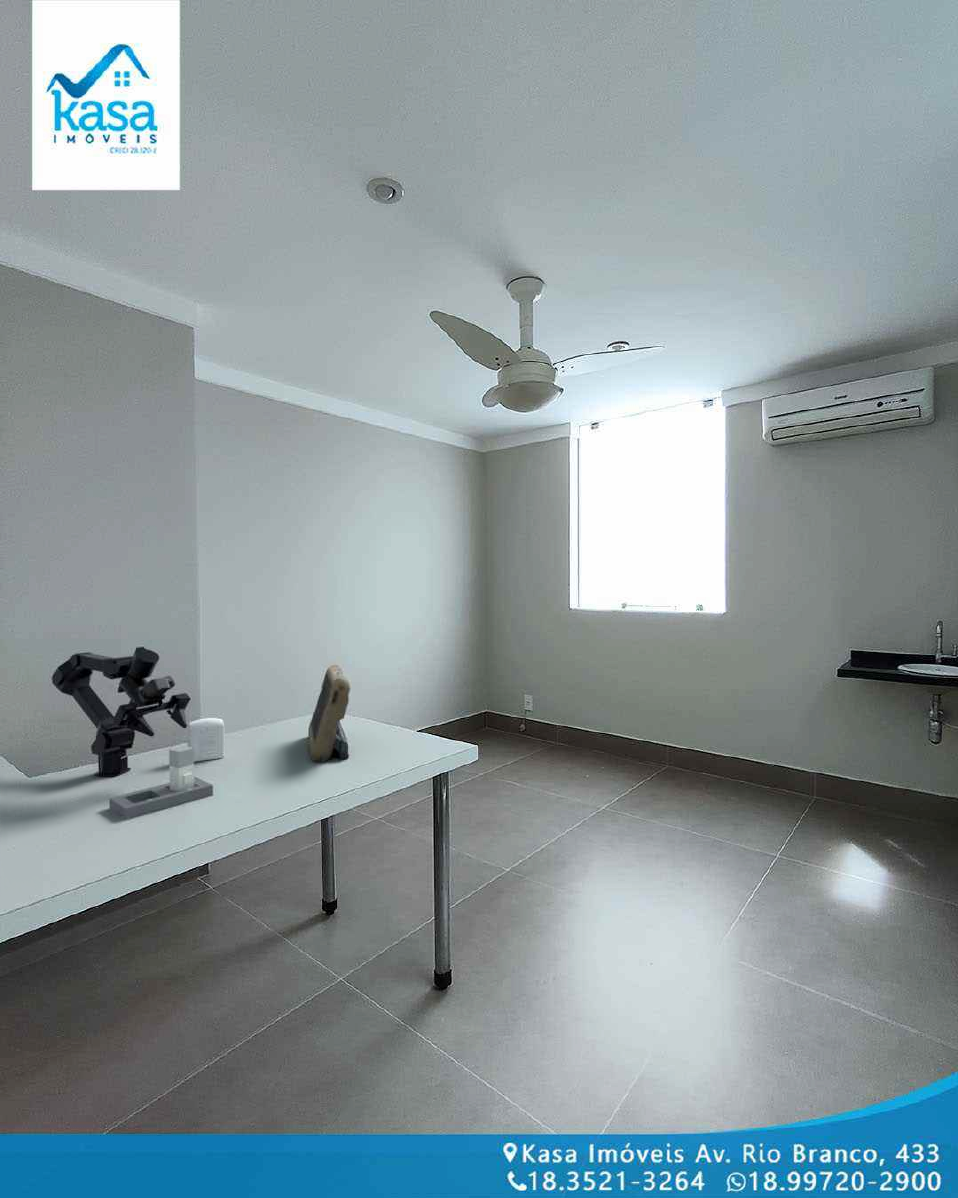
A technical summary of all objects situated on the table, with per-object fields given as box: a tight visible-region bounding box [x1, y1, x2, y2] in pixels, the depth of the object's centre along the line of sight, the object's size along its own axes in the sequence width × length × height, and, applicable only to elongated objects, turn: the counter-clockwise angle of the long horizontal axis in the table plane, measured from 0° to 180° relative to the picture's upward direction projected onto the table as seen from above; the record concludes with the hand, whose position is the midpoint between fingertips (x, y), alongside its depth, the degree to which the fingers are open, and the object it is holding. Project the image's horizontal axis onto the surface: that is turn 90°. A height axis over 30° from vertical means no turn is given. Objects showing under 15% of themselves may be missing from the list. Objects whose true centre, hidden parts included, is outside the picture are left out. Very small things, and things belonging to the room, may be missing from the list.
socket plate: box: [108, 776, 214, 820], centre depth 144 cm, size 10×20×3 cm, turn 141°
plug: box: [168, 745, 195, 792], centre depth 147 cm, size 5×4×12 cm
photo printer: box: [187, 717, 225, 763], centre depth 178 cm, size 10×4×12 cm, turn 123°
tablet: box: [307, 664, 351, 763], centre depth 191 cm, size 33×14×25 cm, turn 23°
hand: (170, 731), depth 153 cm, fingers open, 9 cm apart
